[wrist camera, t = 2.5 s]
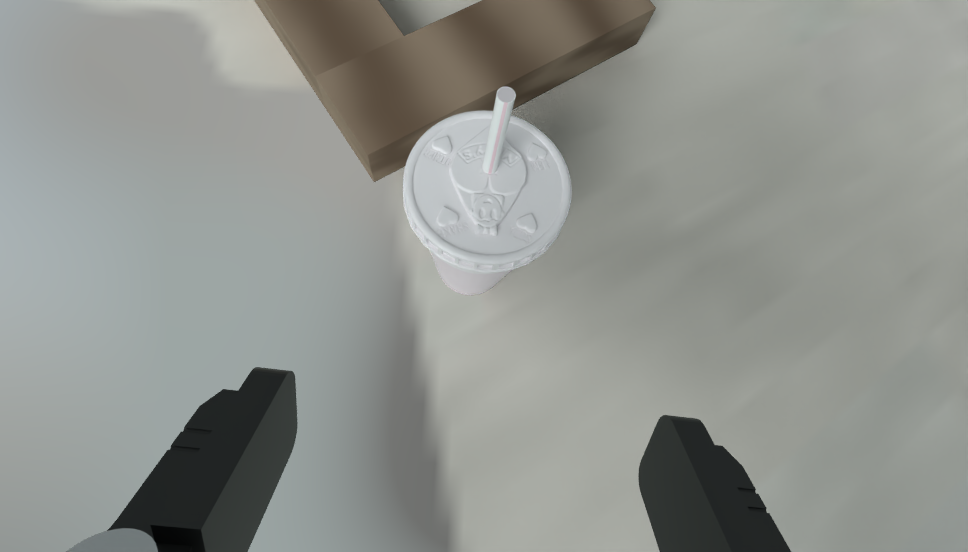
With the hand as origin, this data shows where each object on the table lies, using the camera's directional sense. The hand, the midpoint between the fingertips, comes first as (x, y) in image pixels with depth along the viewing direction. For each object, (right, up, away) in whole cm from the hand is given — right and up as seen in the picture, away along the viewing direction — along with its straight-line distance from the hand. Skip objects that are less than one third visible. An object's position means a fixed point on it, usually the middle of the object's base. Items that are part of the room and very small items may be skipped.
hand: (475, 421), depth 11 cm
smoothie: (-1, +4, +17) cm, 17 cm away
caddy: (-3, +22, +21) cm, 31 cm away
